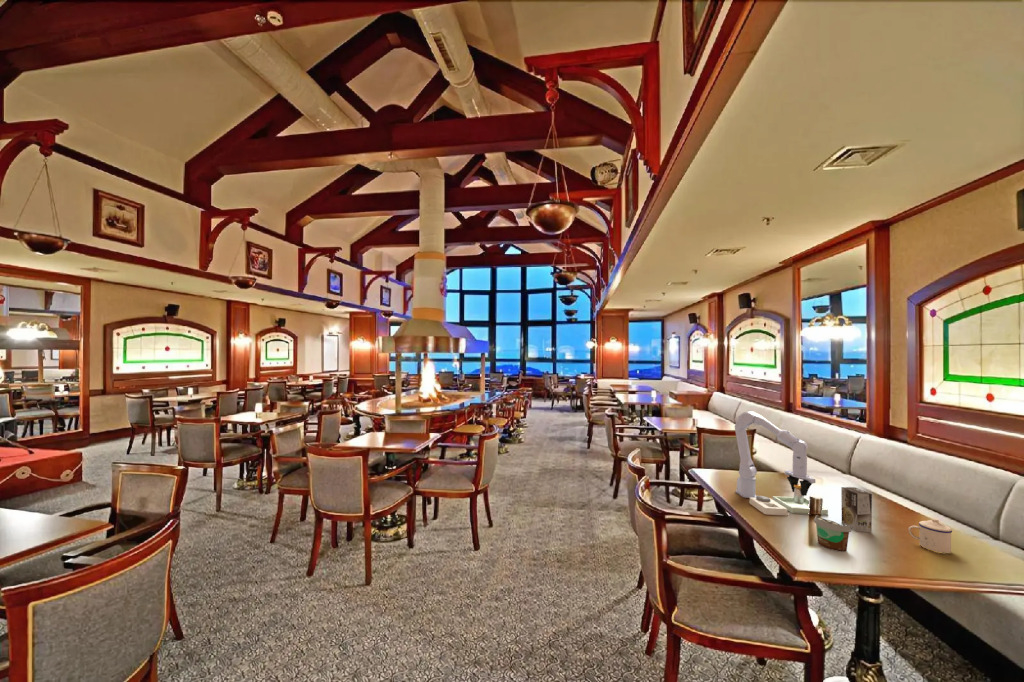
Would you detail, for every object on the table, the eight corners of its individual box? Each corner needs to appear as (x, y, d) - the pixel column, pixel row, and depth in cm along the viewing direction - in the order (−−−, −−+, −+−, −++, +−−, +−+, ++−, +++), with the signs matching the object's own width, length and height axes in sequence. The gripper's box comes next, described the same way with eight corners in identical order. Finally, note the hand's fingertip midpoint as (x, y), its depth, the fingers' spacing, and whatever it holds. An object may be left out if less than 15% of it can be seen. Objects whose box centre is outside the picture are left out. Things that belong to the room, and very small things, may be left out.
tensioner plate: (749, 503, 206) (749, 495, 206) (770, 504, 205) (770, 496, 205) (765, 514, 192) (765, 505, 192) (787, 515, 191) (787, 506, 191)
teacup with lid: (950, 549, 161) (950, 519, 162) (953, 557, 155) (953, 526, 155) (908, 539, 169) (908, 510, 170) (908, 546, 163) (909, 516, 163)
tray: (772, 501, 210) (772, 496, 210) (805, 502, 209) (805, 497, 209) (792, 513, 194) (792, 508, 194) (827, 515, 193) (827, 509, 193)
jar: (790, 501, 203) (791, 483, 203) (797, 501, 204) (798, 484, 204) (799, 504, 198) (800, 486, 199) (806, 504, 199) (807, 486, 200)
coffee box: (872, 532, 175) (872, 494, 176) (857, 531, 175) (857, 493, 176) (855, 523, 184) (855, 486, 185) (840, 522, 184) (840, 486, 185)
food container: (806, 541, 165) (806, 515, 165) (816, 538, 167) (816, 513, 167) (840, 555, 153) (840, 528, 154) (851, 553, 156) (851, 526, 156)
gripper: (779, 462, 208) (779, 489, 207) (807, 470, 194) (807, 499, 193) (790, 461, 210) (790, 488, 209) (819, 469, 196) (818, 498, 195)
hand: (799, 493), depth 202 cm, fingers closed on jar, 4 cm apart
